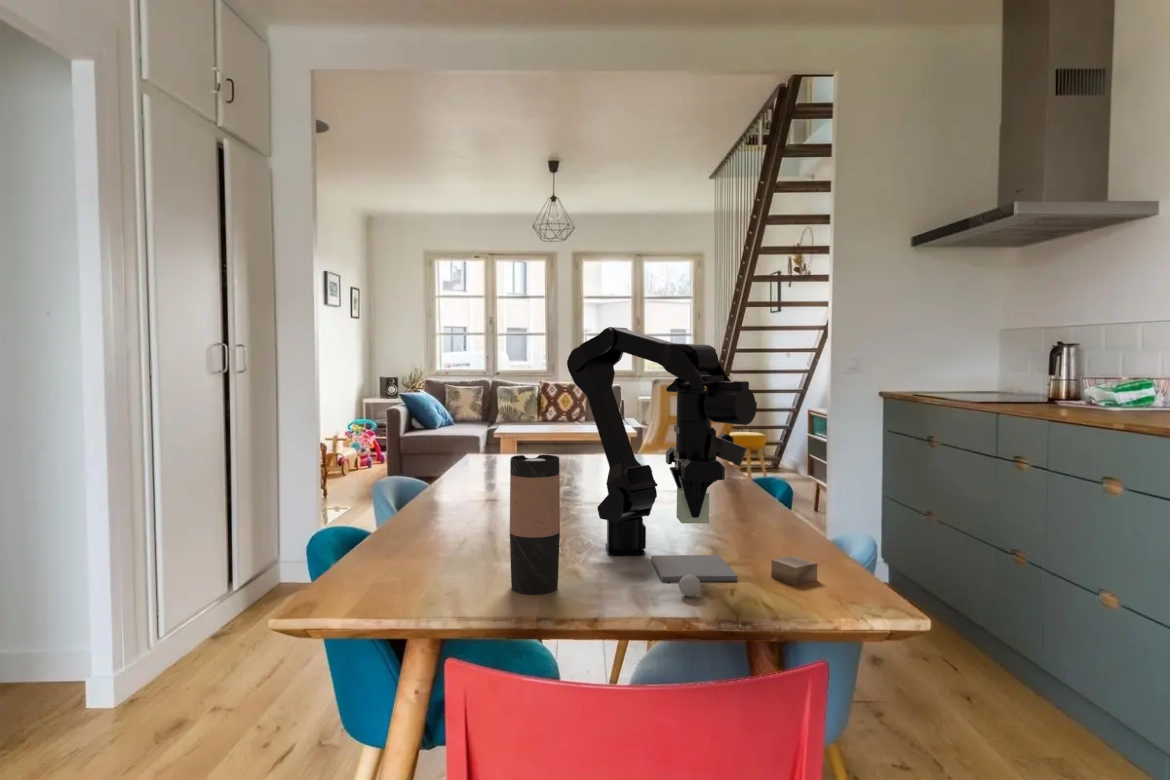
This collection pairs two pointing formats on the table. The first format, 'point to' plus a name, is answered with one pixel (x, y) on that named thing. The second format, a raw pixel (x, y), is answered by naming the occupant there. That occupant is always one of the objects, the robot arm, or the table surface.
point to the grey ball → (689, 585)
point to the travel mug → (534, 523)
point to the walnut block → (794, 570)
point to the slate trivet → (692, 567)
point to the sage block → (684, 511)
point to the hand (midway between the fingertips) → (692, 514)
